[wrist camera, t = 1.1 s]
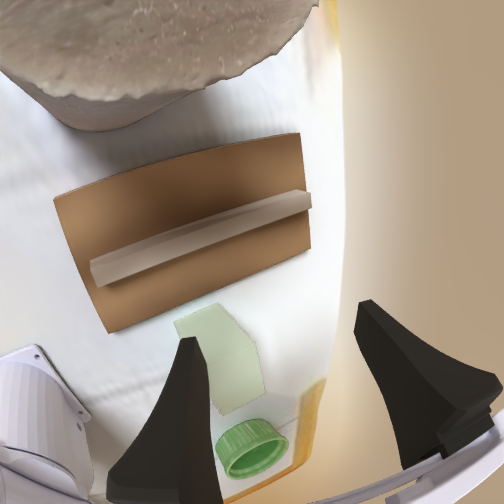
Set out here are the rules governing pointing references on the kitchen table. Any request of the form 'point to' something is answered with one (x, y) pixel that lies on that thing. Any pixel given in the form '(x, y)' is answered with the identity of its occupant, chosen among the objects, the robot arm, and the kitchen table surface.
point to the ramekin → (250, 448)
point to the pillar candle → (135, 51)
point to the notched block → (225, 357)
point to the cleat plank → (186, 225)
